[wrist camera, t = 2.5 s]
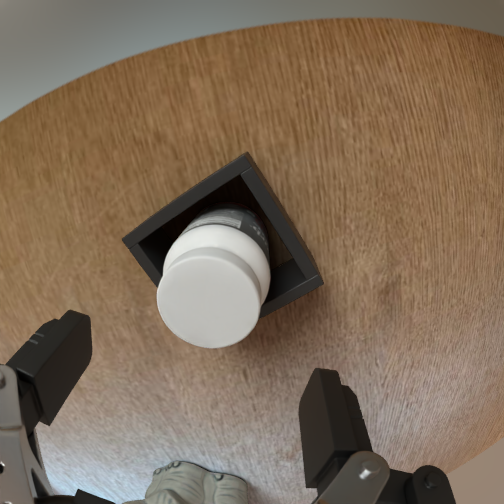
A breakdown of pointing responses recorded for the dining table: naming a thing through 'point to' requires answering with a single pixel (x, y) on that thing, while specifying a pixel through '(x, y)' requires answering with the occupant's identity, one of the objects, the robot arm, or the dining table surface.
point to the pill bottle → (216, 277)
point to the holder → (303, 264)
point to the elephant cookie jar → (193, 487)
